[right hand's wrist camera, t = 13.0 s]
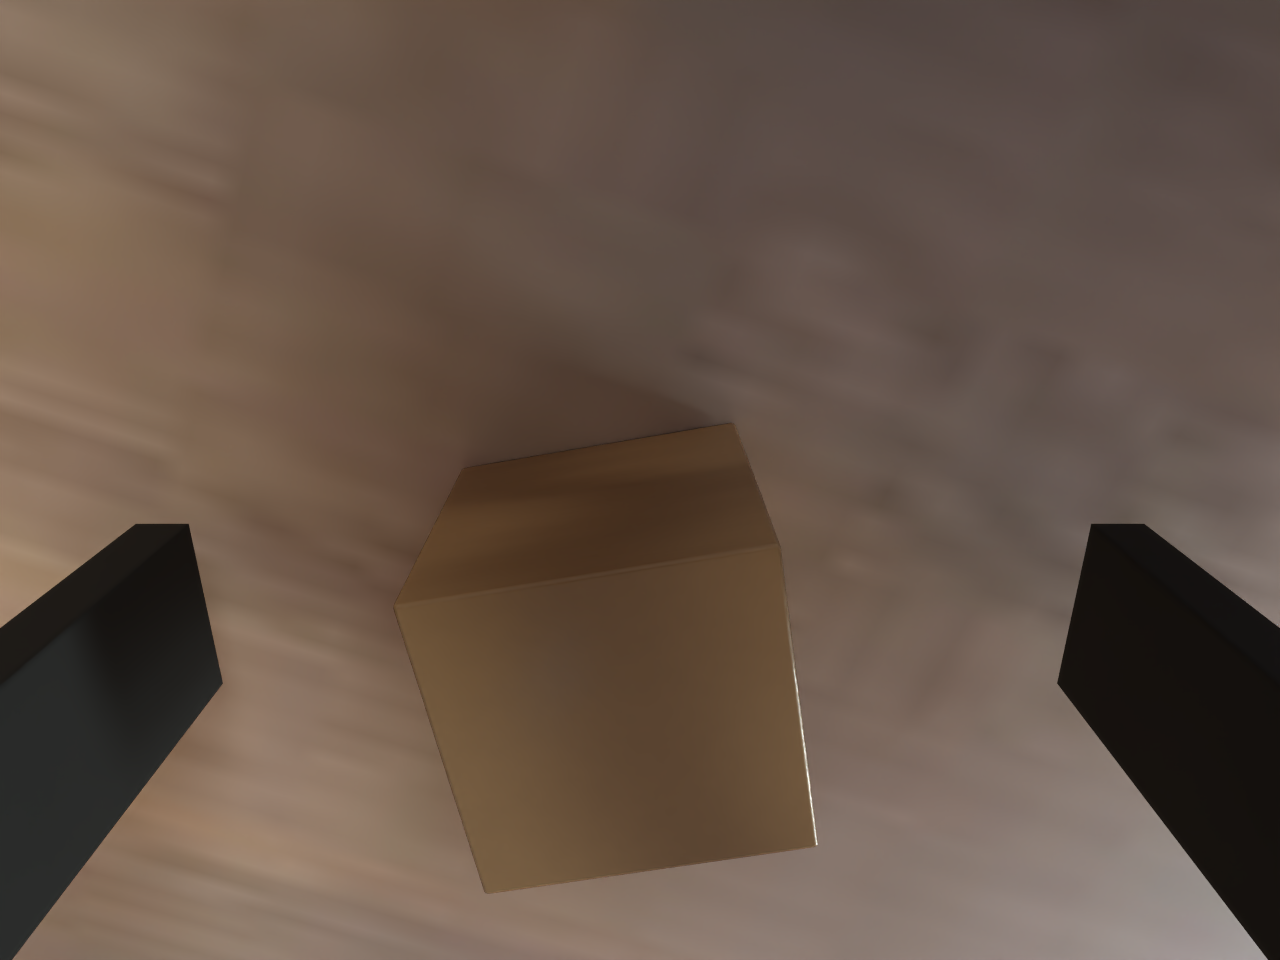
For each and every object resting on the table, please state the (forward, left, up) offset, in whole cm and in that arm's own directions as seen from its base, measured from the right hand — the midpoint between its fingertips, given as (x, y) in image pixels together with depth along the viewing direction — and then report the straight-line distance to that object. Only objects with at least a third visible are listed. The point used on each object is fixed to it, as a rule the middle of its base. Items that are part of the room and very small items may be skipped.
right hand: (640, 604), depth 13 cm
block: (0, 0, -1) cm, 1 cm away
